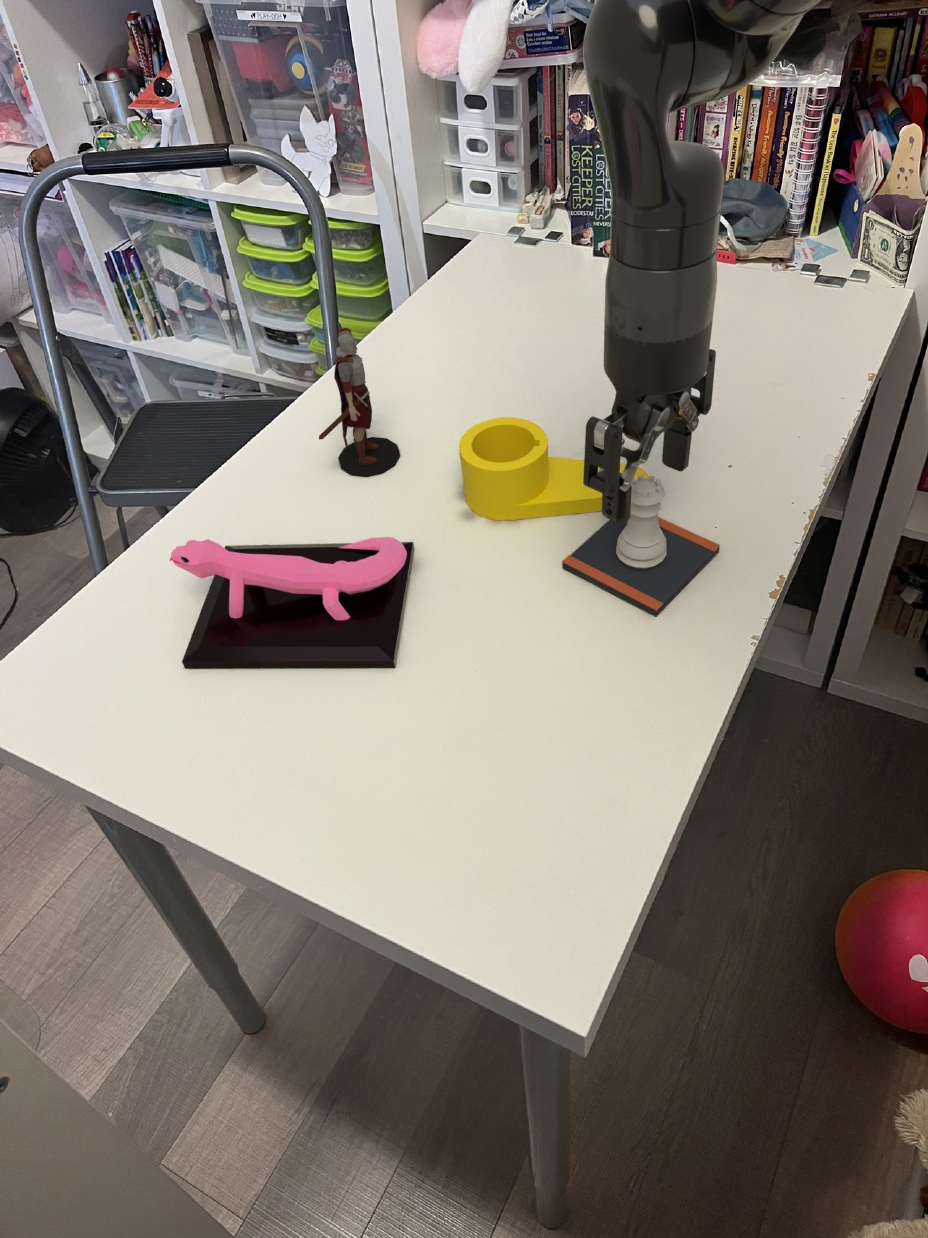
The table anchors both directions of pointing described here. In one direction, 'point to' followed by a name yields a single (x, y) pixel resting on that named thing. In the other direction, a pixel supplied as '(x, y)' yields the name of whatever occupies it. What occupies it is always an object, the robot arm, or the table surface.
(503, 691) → the table surface
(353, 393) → the figurine
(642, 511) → the rook chess piece
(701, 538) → the mat
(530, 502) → the crank
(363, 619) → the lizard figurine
